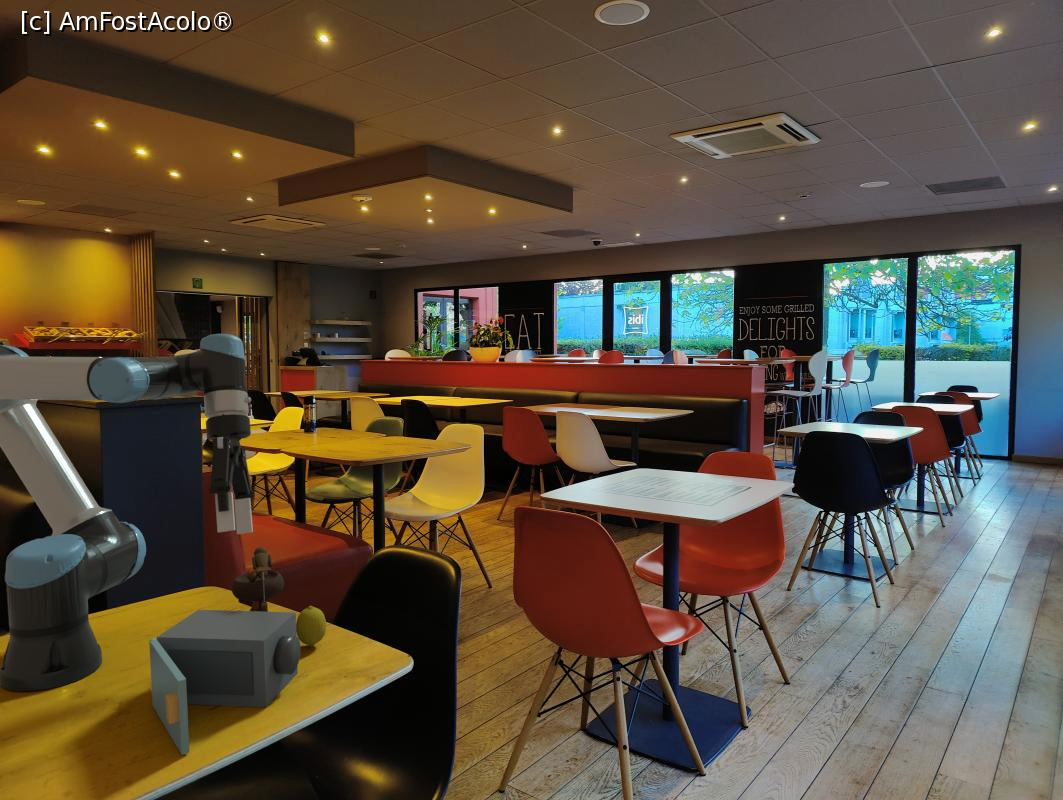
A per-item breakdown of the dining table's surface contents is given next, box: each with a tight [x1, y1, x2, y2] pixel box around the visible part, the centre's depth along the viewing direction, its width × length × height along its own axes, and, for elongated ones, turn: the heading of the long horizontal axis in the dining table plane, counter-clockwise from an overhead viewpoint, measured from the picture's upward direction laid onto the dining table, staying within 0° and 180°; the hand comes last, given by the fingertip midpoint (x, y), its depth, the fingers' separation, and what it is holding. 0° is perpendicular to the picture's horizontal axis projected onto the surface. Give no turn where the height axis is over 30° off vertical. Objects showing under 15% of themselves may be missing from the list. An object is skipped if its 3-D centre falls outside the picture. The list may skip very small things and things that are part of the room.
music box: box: [231, 546, 285, 612], centre depth 135 cm, size 15×11×20 cm
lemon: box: [296, 605, 327, 648], centre depth 136 cm, size 6×6×8 cm
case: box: [156, 609, 301, 708], centre depth 119 cm, size 20×12×11 cm, turn 85°
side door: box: [148, 637, 190, 755], centre depth 106 cm, size 19×2×11 cm, turn 40°
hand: (236, 532), depth 127 cm, fingers open, 13 cm apart
